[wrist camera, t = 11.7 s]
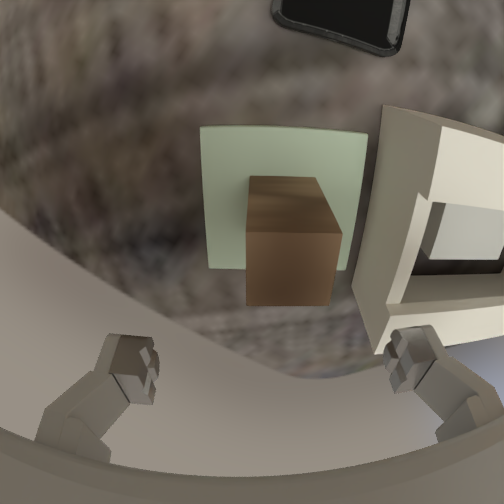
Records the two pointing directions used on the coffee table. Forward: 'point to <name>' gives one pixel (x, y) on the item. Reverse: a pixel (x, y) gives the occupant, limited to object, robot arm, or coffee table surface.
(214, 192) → the sage mat
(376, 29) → the phone
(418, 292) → the slotted box
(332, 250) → the walnut block
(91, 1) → the coffee table surface
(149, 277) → the coffee table surface
